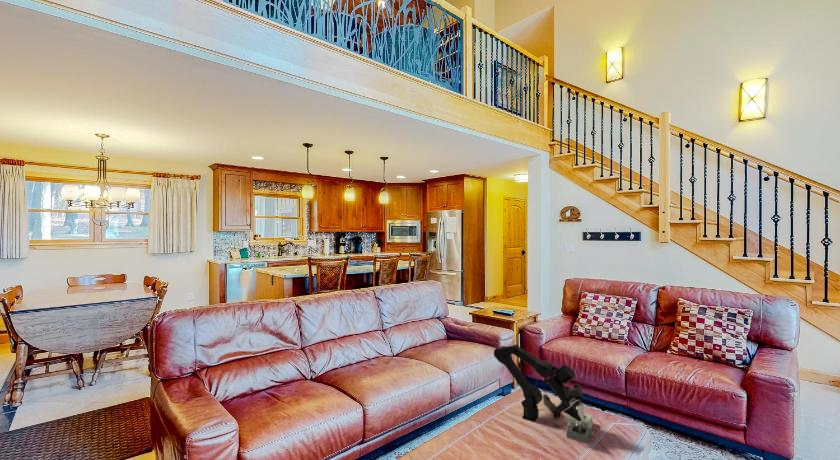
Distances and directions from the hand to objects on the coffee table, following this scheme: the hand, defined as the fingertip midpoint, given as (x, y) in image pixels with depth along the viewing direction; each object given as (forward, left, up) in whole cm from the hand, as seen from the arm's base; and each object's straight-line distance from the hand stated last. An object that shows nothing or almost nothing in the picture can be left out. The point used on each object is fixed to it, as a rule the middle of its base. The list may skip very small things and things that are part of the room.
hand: (582, 419), depth 175 cm
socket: (-1, 0, -8) cm, 8 cm away
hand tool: (-20, +19, -9) cm, 29 cm away
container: (-3, +11, -8) cm, 14 cm away
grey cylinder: (-1, 0, -7) cm, 7 cm away
